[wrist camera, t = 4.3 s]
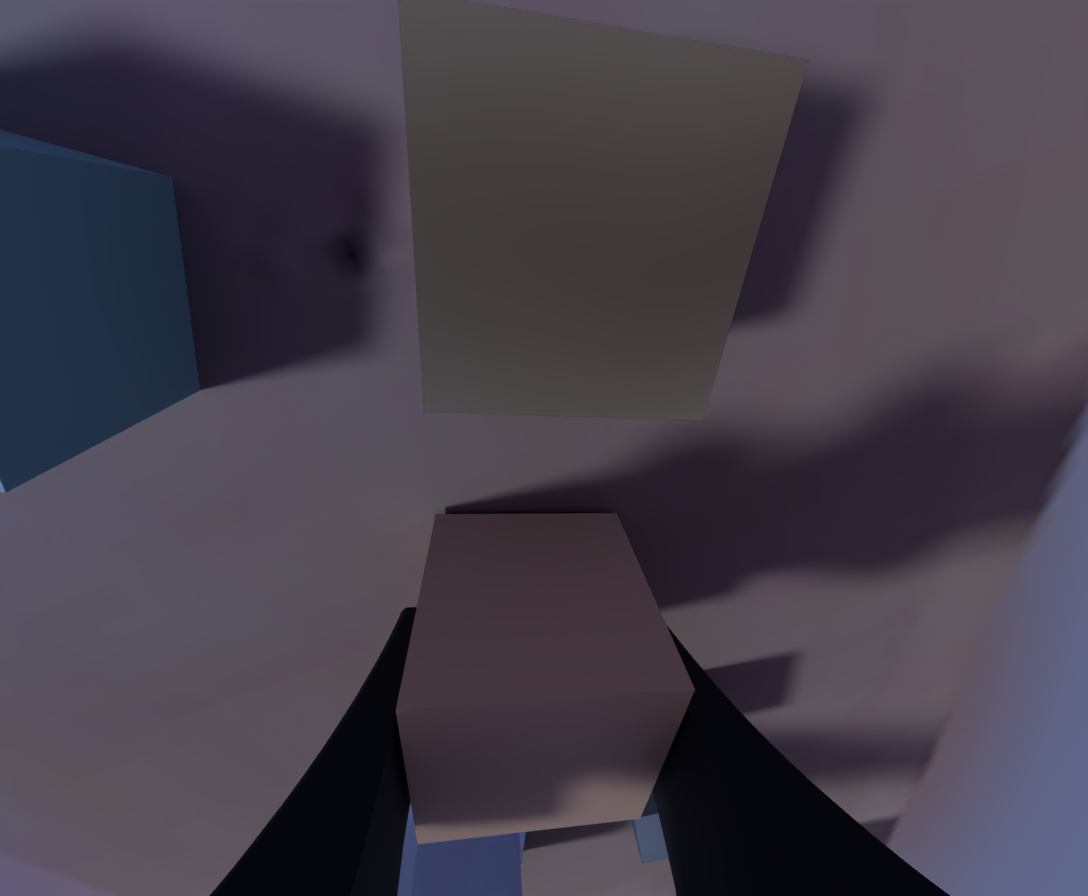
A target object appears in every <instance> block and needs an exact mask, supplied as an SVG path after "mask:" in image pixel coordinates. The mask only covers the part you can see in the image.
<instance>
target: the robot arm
mask: <svg viewBox="0 0 1088 896" xmlns="http://www.w3.org/2000/svg"><path fill="white" fill-rule="evenodd" d="M416 609H417V607H410V608H405V609H404V610H402V612H401V614H400V616H399V619H398V621H397V623H396V625H395V627H394V629H393V631H392V633H391V635H390V637H389V639H388V641H387V643H386V645H385V647H384V649H383V651H382V653H381V654H380V656H379V658H378V660H377V662H376V663H375V665H374V667H373V669H372V670H371V672H370V674H369V675H368V677H367V679H366V681H365V682H364V684H363V686H362V687H361V689H360V691H359V693H358V694H357V696H356V698H355V699H354V701H353V702H352V704H351V706H350V707H349V709H348V710H347V712H346V713H345V715H344V716H343V718H342V719H341V721H340V723H339V724H338V726H337V727H336V729H335V730H334V732H333V733H332V735H331V736H330V738H329V739H328V741H327V743H326V744H325V745H324V747H323V748H322V750H321V751H320V753H319V754H318V756H317V757H316V759H315V760H314V761H313V763H312V764H311V766H310V767H309V769H308V770H307V771H306V773H305V774H304V776H303V777H302V778H301V780H300V781H299V782H298V784H297V785H296V787H295V788H294V789H293V791H292V792H291V793H290V795H289V796H288V798H287V799H286V800H285V802H284V803H283V804H282V806H281V807H280V808H279V809H278V811H277V812H276V813H275V815H274V816H273V817H272V819H271V820H270V821H269V822H268V824H267V825H266V826H265V828H264V829H263V830H262V832H261V833H260V834H259V835H258V837H257V838H256V839H255V841H254V842H253V843H252V844H251V846H250V847H249V848H248V850H247V851H246V852H245V853H244V855H243V856H242V857H241V858H240V860H239V861H238V862H237V863H236V865H235V866H234V867H233V868H232V870H231V871H230V872H229V873H228V874H227V876H226V877H225V878H224V879H223V881H222V882H221V883H220V884H219V885H218V886H217V888H216V889H215V890H214V891H213V892H212V894H211V895H210V896H522V883H521V864H522V857H523V850H524V842H525V835H526V832H520V833H512V834H503V835H494V836H486V837H477V838H468V839H460V840H451V841H442V842H433V843H425V844H417V838H416V832H415V826H414V820H413V813H412V807H411V801H410V795H409V789H408V783H407V777H406V771H405V765H404V759H403V752H402V746H401V740H400V734H399V728H398V722H397V716H396V706H397V702H398V697H399V692H400V687H401V682H402V677H403V672H404V667H405V663H406V658H407V653H408V648H409V643H410V638H411V633H412V628H413V623H414V619H415V614H416ZM667 628H668V630H669V632H670V634H671V637H672V639H673V641H674V643H675V646H676V648H677V650H678V652H679V655H680V657H681V659H682V661H683V664H684V666H685V668H686V670H687V673H688V675H689V677H690V679H691V682H692V684H693V686H694V688H695V691H694V693H693V695H692V698H691V700H690V703H689V705H688V707H687V710H686V712H685V714H684V717H683V719H682V721H681V724H680V726H679V728H678V731H677V733H676V735H675V738H674V740H673V742H672V745H671V747H670V750H669V752H668V754H667V757H666V759H665V761H664V764H663V766H662V768H661V771H660V773H659V775H658V778H657V780H656V782H655V785H654V787H653V789H652V792H653V796H654V799H655V803H656V806H657V810H658V814H659V818H660V823H661V827H662V831H663V835H664V840H665V844H666V848H667V853H668V857H669V861H670V866H671V870H672V875H673V880H674V884H675V889H676V893H677V896H950V895H948V894H947V893H946V892H944V891H943V890H942V889H940V888H939V887H938V886H936V885H935V884H934V883H932V882H931V881H930V880H928V879H927V878H926V877H924V876H923V875H922V874H920V873H919V872H918V871H917V870H915V869H914V868H912V867H911V866H910V865H909V864H908V863H906V862H905V861H904V860H903V859H901V858H900V857H899V856H898V855H896V854H895V853H894V852H893V851H892V850H890V849H889V848H888V847H887V846H885V845H884V844H883V843H882V842H880V841H879V840H878V839H877V838H876V837H874V836H873V835H872V834H871V833H869V832H868V831H867V830H866V829H865V828H863V827H862V826H861V825H860V824H859V823H858V822H857V821H855V820H854V819H853V818H852V817H851V816H850V815H848V814H847V813H846V812H845V811H844V810H843V809H842V808H840V807H839V806H838V805H837V804H836V803H835V802H834V801H832V800H831V799H830V798H829V797H828V796H827V795H826V794H824V793H823V792H822V791H821V790H820V789H819V788H817V787H816V786H815V785H814V784H813V783H812V782H811V781H810V780H809V779H807V778H806V777H805V776H804V775H803V774H802V773H801V772H800V771H799V770H798V769H797V768H796V767H795V766H794V765H793V764H792V763H790V762H789V761H788V760H787V759H786V758H785V757H784V756H783V755H782V754H781V753H780V752H779V751H778V750H777V749H776V748H775V747H774V746H773V745H772V744H771V743H770V742H769V741H768V740H767V739H766V738H765V737H764V736H763V735H762V734H761V733H760V732H759V731H758V730H757V729H756V728H755V727H754V726H753V725H752V724H751V723H750V722H749V721H748V720H747V719H746V718H745V717H744V715H743V714H742V713H741V712H740V711H739V710H738V709H737V708H736V707H735V706H734V705H733V703H732V702H731V701H730V700H729V699H728V698H727V697H726V696H725V695H724V694H723V692H722V691H721V690H720V689H719V688H718V687H717V686H716V684H715V683H714V682H713V681H712V680H711V679H710V678H709V676H708V675H707V674H706V673H705V672H704V670H703V669H702V668H701V667H700V666H699V664H698V663H697V662H696V661H695V660H694V659H693V657H692V656H691V655H690V654H689V652H688V651H687V650H686V649H685V648H684V646H683V645H682V644H681V643H680V641H679V640H678V639H677V637H676V636H675V635H674V634H673V632H672V631H671V630H670V629H669V627H668V626H667Z"/></svg>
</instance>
